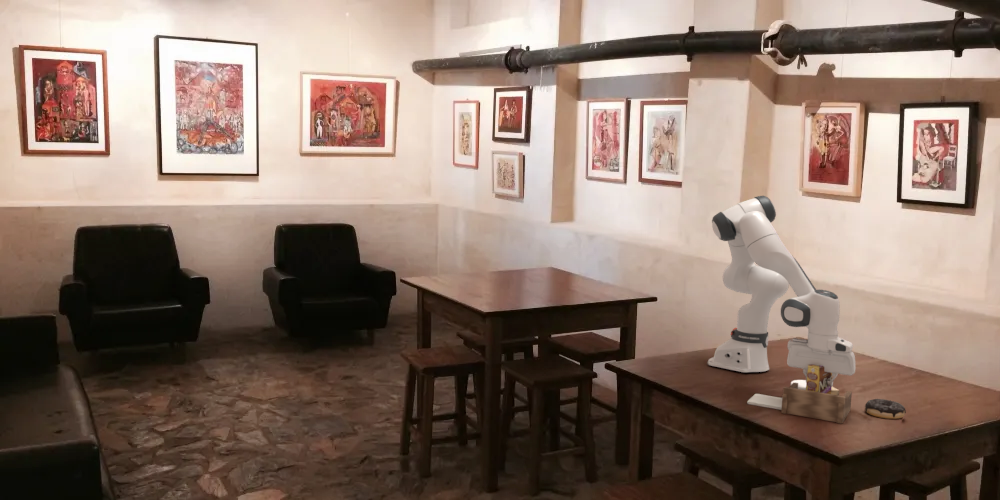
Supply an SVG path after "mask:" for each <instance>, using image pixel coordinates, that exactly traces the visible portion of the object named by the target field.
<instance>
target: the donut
mask: <svg viewBox="0 0 1000 500" xmlns="http://www.w3.org/2000/svg"><path fill="white" fill-rule="evenodd" d="M864 407H865V408H864V410H865V412H866V413H867V414H868V415H870V416H872V417H876V418H881V419H889V420H891V419H892V420H899V419H903V418H904V417H905V414H906V413H907V410H906V407H905V406H904V405H903V404H902V403H899V402H897V401H894V400H893V401H892V400H889V399H884V398H875V399H870V400H868V401H867V402H866V403H865V406H864Z"/></svg>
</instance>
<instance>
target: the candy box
mask: <svg viewBox="0 0 1000 500" xmlns="http://www.w3.org/2000/svg"><path fill="white" fill-rule="evenodd" d="M832 378H833V376H832V373H830V372H825V371H824V366H821V365H808V372H807V384H806V390H808V391H814V392H820V393H827V394H831V386H827V384H828V383H827V382H828V380H831V379H832Z"/></svg>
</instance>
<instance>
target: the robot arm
mask: <svg viewBox="0 0 1000 500" xmlns="http://www.w3.org/2000/svg"><path fill="white" fill-rule="evenodd" d="M776 216H777V212H776V208H775V205H774V203H773V202H772V200H771V199H770V198H769V197H768V196H766V195H757V196H754V197H753V198H750V199H747V200H744V201H740V202H739V203H736V204H734V205H732V206H730V207H728V208H726V209H725V210H723V211H719V212H718V213H716V214H715V215H713V217H712V220H711V227H712V230H713V232H714V234H715V236H716V237H717V238H718V239H719V240H721V241H723V242H727V244H728V247H729V251H730V255H731V263H730V264H729V265H727V266H726V268H725V269H724V270H723V272H722V273H723V274H722V281H723V284H724V287H726V289H729V290H731V291H733V292H736V293H740V294H741V293H742V294H746V295H747V294H748V295H751V298H750V301H749V302H748V303H745V304H744V305H742V306H741V307H740V308H739V309H738V310H737V320H736V322H737V323H736V327H734V328H732V330H731V331H730V337H731V338H730V339H728V340H726V341H724V342H723V343H721V344H720V345H718V346H717V347H716V349H715V352H714V354H713V355H714V356H713V357H711V358H708V361H707V365H708V366H712V367H717V368H719V369H720V368H721V369H726V370H730V371H736V372H739V373H740V372H741V373H759V372H760V373H762V372H766V371H769V370H770V365H769V360H768V346H769V332H768V328H769V327H768V325H769V316H770V313H771V309H772V307H773V306H774V304H775V302H776V301H777V300H778V299H780V298H782V297H783V296H784V295H785V294H787V291H789V290H788V289H789V287H790V288H791V289H792V291H793V293H794V294H795V295H796V296H795V297H791V298H789V299H786V300H784V302H783V303H781V304H782V305H781V306H780V317H781V319H782V321H783V322H784V324H785V325H787V326H789V327H792V328H803V327H804V328H807V339H805V338H804V339H803V338H797V337H793V338H791V339H789V340H788V342H787V350H788V354H787V360H786V363H787V366H788V367H790V368H796V369H802V374H803V375H804V376H805V380H806V383H807V372H808V365H821V366H824V371H825V372H830V373H832V379H831V380H828V382H827V383H828V384H827V386H831V387H834V381H835V379H836V378H837V377H838V375H844V376H853V375H855V373H856V356H855V353H854V351H853V347H854V346H853V343H852V342H851V341H849V340H846V339H844V338H843V337H839V331H838V330H839V329H838V324H839V321H840V315H841V313H840V312H841V311H840V310H841V309H840V299H839V296H838V295H837V294H835V293H834V292H832V291H830V290H826V289H817V288H816V287H815V286H814V284H813V283H812V281H811V280H810V278H809V277H808V275H807V274H806V272H805V271H804V269H803V268H802V266H801V265H800V263H799V262H798V260H797V259H796V257H794V256H793V254H792V253H791V252H790V251H789V249H788V248H787V247H786V245H785V243H784V242H783V240H781V237H780V236H779V234H778V232H777V230H776V229H775V227H774V226H773V224H772V223H773V222H774V221H775V219H776V218H777V217H776Z"/></svg>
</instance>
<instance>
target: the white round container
mask: <svg viewBox="0 0 1000 500" xmlns="http://www.w3.org/2000/svg"><path fill="white" fill-rule="evenodd" d="M793 383H798V389H802V390H806V384H807V383H806V379H794V380H791V382H790V386H791V385H792V384H793Z"/></svg>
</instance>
